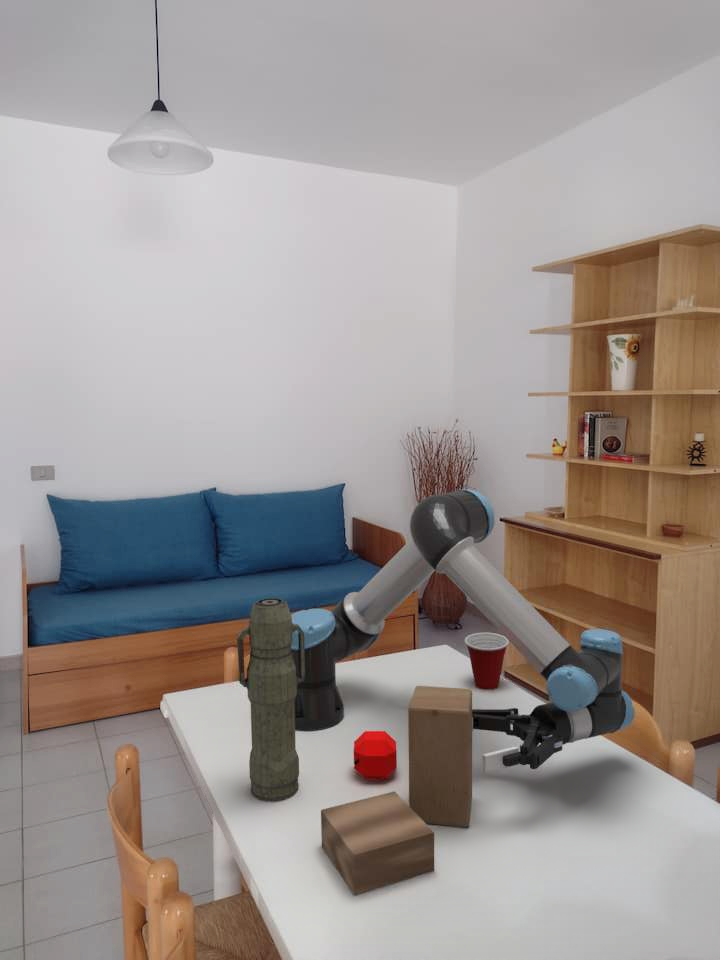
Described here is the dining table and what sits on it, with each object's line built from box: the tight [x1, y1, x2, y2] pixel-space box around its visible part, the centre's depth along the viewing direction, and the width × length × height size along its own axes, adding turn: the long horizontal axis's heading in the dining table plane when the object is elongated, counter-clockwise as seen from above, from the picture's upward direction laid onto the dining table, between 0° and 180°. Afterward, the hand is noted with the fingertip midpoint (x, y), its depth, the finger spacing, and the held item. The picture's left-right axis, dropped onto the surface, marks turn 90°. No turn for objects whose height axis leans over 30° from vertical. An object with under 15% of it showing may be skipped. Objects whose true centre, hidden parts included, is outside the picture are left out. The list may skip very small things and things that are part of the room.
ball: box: [353, 730, 398, 780], centre depth 136 cm, size 8×8×8 cm
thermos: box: [236, 597, 305, 803], centre depth 130 cm, size 9×12×35 cm
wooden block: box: [407, 685, 473, 828], centre depth 123 cm, size 10×10×20 cm
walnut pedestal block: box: [320, 790, 435, 896], centre depth 111 cm, size 13×13×6 cm
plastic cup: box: [464, 632, 510, 691], centre depth 180 cm, size 11×11×12 cm
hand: (461, 746), depth 124 cm, fingers open, 13 cm apart
